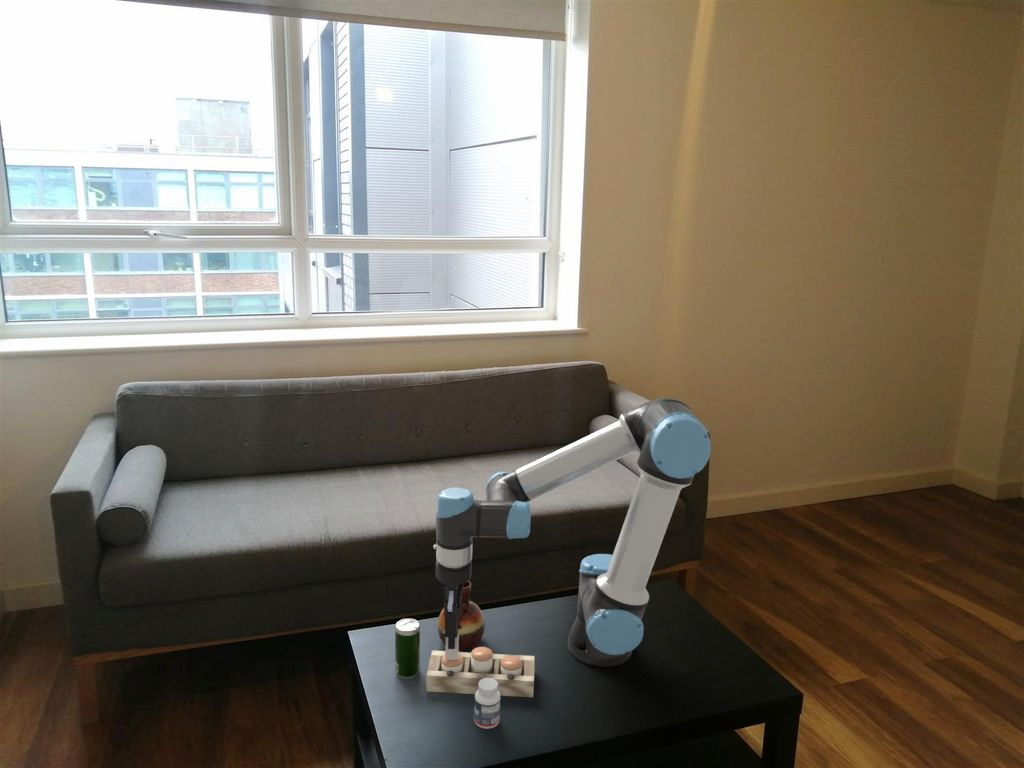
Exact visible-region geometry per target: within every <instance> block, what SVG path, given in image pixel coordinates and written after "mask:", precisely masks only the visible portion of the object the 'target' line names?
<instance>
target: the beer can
mask: <svg viewBox="0 0 1024 768" xmlns="http://www.w3.org/2000/svg"><path fill="white" fill-rule="evenodd" d="M395 625H396V626H395V630H394V631H395V632H394V634H395V636H394V638H395V639H394V641H395V642H394V643H395V644H394V645H395V648H394V649H395V650H394V652H395V653H394V655H395V656H394V657H395V660H394V661H395V662H394V663H395V667H394V669H395V673H396V675H397V677H399V678H401V679H404V678H405V680H407V679H408V680H410V679H413V678H415V677H416V676H418V674H419V672H420V670H421V669H420V668H421V666H420V664H421V663H420V661H421V660H420V659H421V657H420V656H421V651H420V650H421V645H420V643H421V631H420V630H421V627H420V624H419V621H417V620H416V619H414V618H402V619H400V620H399V621H397V622H396V624H395Z"/></svg>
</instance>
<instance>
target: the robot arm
mask: <svg viewBox="0 0 1024 768" xmlns="http://www.w3.org/2000/svg"><path fill="white" fill-rule="evenodd" d="M711 445H712V444H711V439H710V437H709V433H708V431H707V429H706V426H705V425H704V424H703V423H702V421H701V420H700V419H699V418H698V417H696V415H695V414H694V412H693V410H692V409H691V408H690V407H689V405H688V404H686V403H685V402H683V401H682V400H680V399H677V398H674V397H661V398H655V399H652V400H650V401H647V402H644V403H642V404H640V405H638V406H636V407H633V408H631V409H629V410H628V411H627V410H626V411H625V412H623V413H621V414H620V415H619V418H618V420H617V421H615V422H612V423H611V424H609V425H607V426H605V427H602V428H600V429H598V430H596V431H594V432H592V433H590V434H588V435H586V436H584V437H582V438H580V439H578V440H576V441H573V442H572V443H569V444H567V445H565V446H563V447H561V448H559V449H557V450H555V451H552V452H550V453H548V454H547V455H545V456H543V457H541V458H537V459H536V460H535V461H532V462H531V463H528V464H526V465H524V466H521V467H520V468H518V469H515V470H513V471H511V472H509V471H497V472H496V473H494V474H492V476H491V477H489V479H488V482H487V485H486V488H485V497H486V498H485V500H477V499H475V497H474V493H473V492H472V491H471V490H469V489H468V488H462V487H459V486H458V487H448V488H446V489H443V490H441V492H440V493H439V494H438V496H437V499H436V513H435V515H436V517H435V518H436V520H435V521H436V524H435V526H436V528H435V529H436V530H435V531H436V532H435V533H436V534H435V535H436V536H435V537H436V541H435V542H436V543H435V544H433V546H432V547H433V549H434V550H435V552H436V553H435V554H436V555H435V556H436V557H435V558H436V560H435V561H436V562H435V578H436V579H437V580H438V581H439V582H440V583H442V584H444V587H443V589H442V596H443V608H444V612H445V630H443V633H442V635H445V637H446V645H444V646H445V650H444V651H445V660H458V652H459V651H458V649H459V630H458V629H462V625H459V621H460V604H461V599H462V590H463V583H465V582H467V581H470V579H471V578H472V560H473V538H491V539H492V538H493V539H494V538H495V539H497V538H498V539H509V540H512V539H525V538H528V537H529V535H530V532H531V505H530V503H528V502H531V501H532V500H535V499H537V498H539V497H540V496H541V497H542V496H543V495H545V494H547V493H549V492H552V491H553V490H555V489H558V488H560V487H562V486H564V485H566V484H569V483H571V482H573V481H575V480H577V479H579V478H581V477H583V476H586V475H588V474H590V473H592V472H594V471H596V470H598V469H600V468H602V467H604V466H607V465H609V464H611V463H613V462H616V461H617V460H619V459H622V458H624V457H627V456H629V455H630V454H632V453H635V454H638V455H639V456H638V460H637V461H636V467H637V469H638V471H639V472H640V475H639V478H638V482H637V484H636V487H635V490H634V493H633V495H632V496H633V497H632V498H631V502H630V504H629V508H628V510H627V513H626V516H625V519H624V522H623V525H622V528H621V530H620V532H619V533H620V534H619V537H618V539H617V542H616V545H615V547H614V551H613V553H612V554H608V553H596V554H592V555H587V556H586V557H584V558H583V559H582V560H581V561H580V562H581V563H580V569H579V570H578V571H579V582H578V584H579V585H578V598H577V599H578V600H577V613H576V614H577V615H576V617H575V619H574V622H573V624H572V627H571V629H570V631H569V634H568V638H567V639H568V640H567V648H568V651H569V653H570V654H571V655H572V656H573V657H575V658H576V660H578V661H580V662H582V663H584V664H587V665H591V666H594V667H606V668H607V667H615V666H618V665H621V664H625V662H626V661H628V660H629V659H630V658H631V656H632V654H633V651H634V649H636V648H637V647H638V646H639V645H640V643H641V642H642V641H643V637H644V630H645V629H644V623H643V621H642V620H643V617H644V613H645V611H646V607H647V605H648V602H649V601H650V594H649V592H648V590H647V588H646V586H647V584H648V581H649V578H650V576H651V573H652V569H653V567H654V566H655V562H656V559H657V557H658V554H659V551H660V548H661V546H662V545H661V544H662V542H663V540H664V538H665V535H666V531H667V529H668V526H669V523H670V520H671V517H672V515H673V512H674V510H675V506H676V504H677V501H678V498H679V496H680V493H681V491H682V489H683V488H686V487H688V486H690V485H691V484H692V483H693V480H694V477H695V474H698V473H699V472H701V471H702V470H703V469H704V468H705V466H706V465H707V463H708V461H709V459H710V456H711V451H712V450H711V448H712V446H711Z"/></svg>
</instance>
